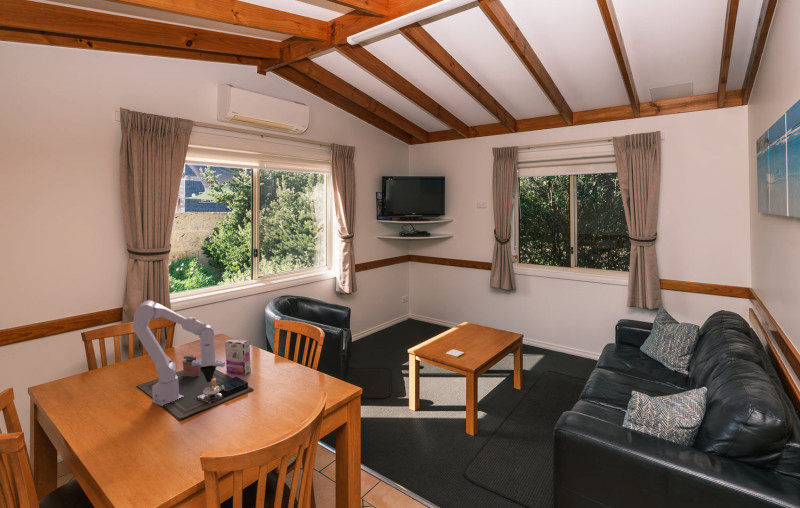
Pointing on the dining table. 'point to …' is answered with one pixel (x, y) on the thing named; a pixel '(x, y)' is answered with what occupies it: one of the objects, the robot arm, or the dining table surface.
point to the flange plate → (212, 388)
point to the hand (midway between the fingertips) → (209, 381)
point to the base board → (211, 396)
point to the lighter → (190, 366)
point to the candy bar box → (238, 356)
